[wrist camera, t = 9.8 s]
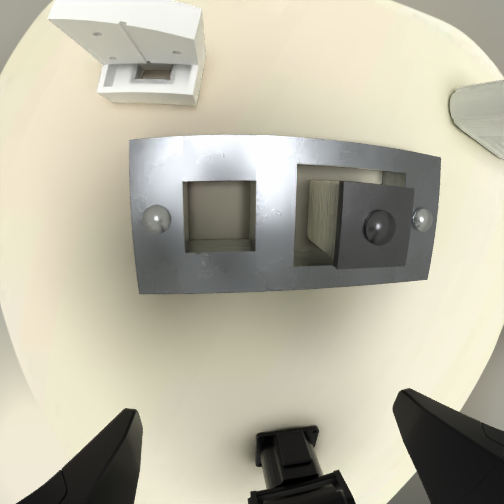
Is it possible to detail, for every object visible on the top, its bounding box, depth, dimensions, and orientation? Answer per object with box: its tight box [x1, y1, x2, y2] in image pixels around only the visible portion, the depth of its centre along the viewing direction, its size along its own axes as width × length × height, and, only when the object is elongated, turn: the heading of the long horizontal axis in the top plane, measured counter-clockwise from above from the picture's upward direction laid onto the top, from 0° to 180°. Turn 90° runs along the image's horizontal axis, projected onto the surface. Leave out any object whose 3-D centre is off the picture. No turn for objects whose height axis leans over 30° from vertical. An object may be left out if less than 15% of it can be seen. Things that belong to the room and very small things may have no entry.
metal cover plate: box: [129, 135, 441, 294], centre depth 18 cm, size 9×20×3 cm, turn 89°
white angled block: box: [47, 0, 206, 106], centre depth 12 cm, size 4×10×9 cm, turn 82°
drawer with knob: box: [307, 180, 415, 269], centre depth 17 cm, size 4×4×6 cm
